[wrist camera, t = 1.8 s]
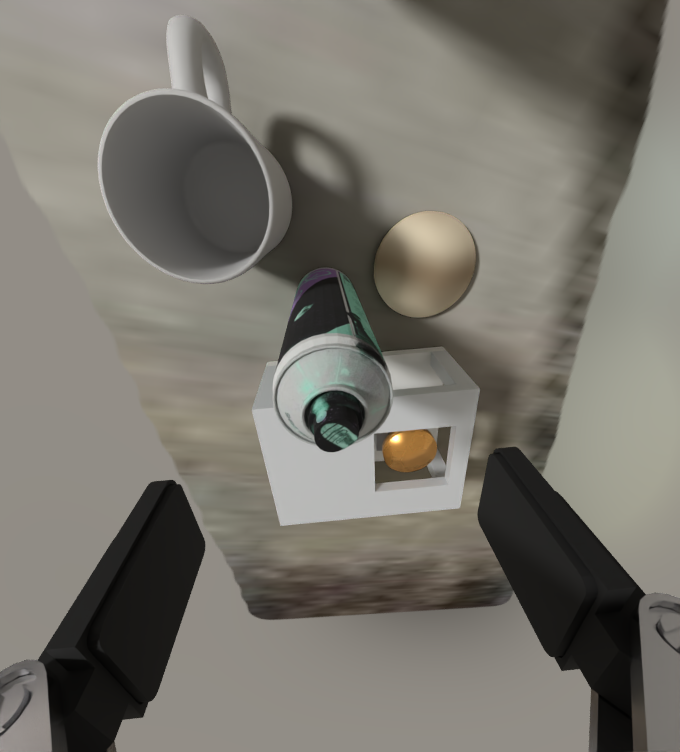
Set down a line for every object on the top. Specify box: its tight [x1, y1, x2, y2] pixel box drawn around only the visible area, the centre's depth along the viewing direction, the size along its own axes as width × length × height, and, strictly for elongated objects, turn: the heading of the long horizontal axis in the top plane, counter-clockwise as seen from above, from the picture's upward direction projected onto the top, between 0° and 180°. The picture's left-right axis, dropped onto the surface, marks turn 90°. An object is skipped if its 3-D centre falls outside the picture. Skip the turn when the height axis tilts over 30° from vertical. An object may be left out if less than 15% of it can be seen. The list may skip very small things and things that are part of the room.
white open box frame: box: [252, 346, 480, 526], centre depth 32 cm, size 14×18×8 cm
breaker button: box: [382, 429, 437, 472], centre depth 31 cm, size 5×5×4 cm
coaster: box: [374, 211, 476, 318], centre depth 28 cm, size 9×9×1 cm
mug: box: [98, 15, 292, 284], centre depth 19 cm, size 12×8×11 cm
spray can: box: [272, 267, 393, 452], centre depth 20 cm, size 6×6×20 cm
